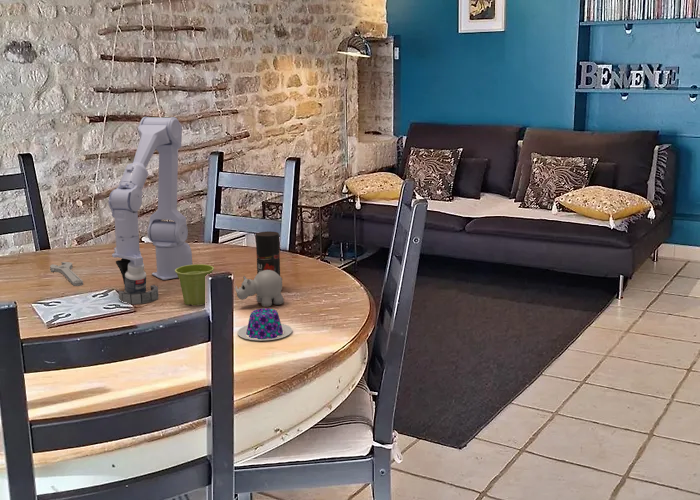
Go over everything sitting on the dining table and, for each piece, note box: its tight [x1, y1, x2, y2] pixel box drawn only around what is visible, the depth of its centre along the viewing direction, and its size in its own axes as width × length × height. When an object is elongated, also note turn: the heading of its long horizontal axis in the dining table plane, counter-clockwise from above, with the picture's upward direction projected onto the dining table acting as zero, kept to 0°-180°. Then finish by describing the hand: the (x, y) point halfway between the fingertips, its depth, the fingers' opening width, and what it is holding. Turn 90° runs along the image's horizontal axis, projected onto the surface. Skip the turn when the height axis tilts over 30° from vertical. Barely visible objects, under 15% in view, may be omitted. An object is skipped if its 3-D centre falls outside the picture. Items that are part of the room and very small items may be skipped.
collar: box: [118, 284, 160, 305], centre depth 200 cm, size 10×6×2 cm, turn 127°
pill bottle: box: [124, 262, 147, 293], centre depth 201 cm, size 5×5×9 cm
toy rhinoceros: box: [234, 270, 285, 308], centre depth 194 cm, size 7×12×8 cm, turn 116°
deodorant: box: [255, 230, 281, 277], centre depth 206 cm, size 6×6×15 cm
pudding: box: [237, 307, 293, 342], centre depth 174 cm, size 12×12×5 cm
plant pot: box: [175, 263, 215, 306], centre depth 197 cm, size 9×9×9 cm
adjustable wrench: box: [49, 261, 84, 287], centre depth 224 cm, size 25×6×2 cm, turn 27°
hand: (130, 287), depth 204 cm, fingers closed, pressing on pill bottle
